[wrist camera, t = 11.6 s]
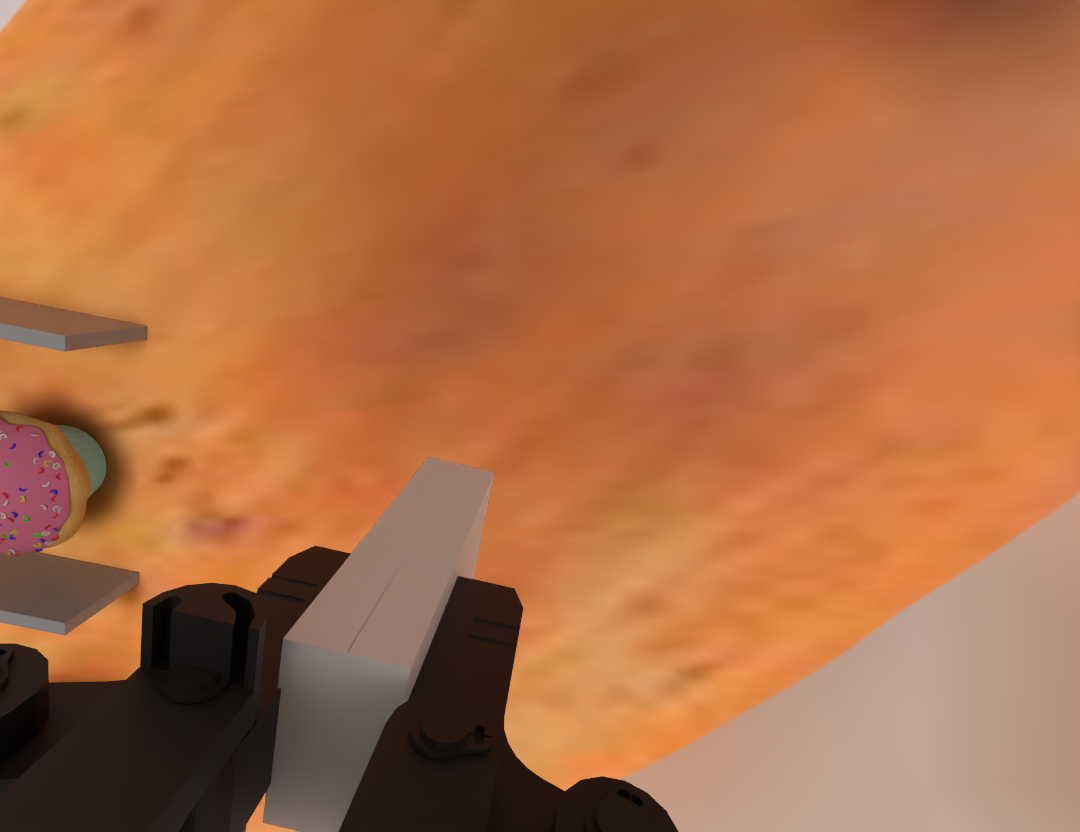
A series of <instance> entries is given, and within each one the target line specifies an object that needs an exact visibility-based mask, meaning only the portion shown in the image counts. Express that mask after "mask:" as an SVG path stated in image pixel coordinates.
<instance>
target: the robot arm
mask: <svg viewBox="0 0 1080 832" xmlns="http://www.w3.org/2000/svg"><path fill="white" fill-rule="evenodd" d="M494 473H495V472H492V471H488V470H483V469H479V468H474V467H470V466H465V465H461V464H456V463H452V462H447V461H443V460H438V459H434V458H429V457H428V459H427V460H426V461H425V462H424V463H423V465H422V466H421V467H420V468H419V470H418V471H417V472H416V473H415V475H414V476H413V477H412V478H411V480H410V481H409V482H408V483H407V485H406V486H405V487H404V488H403V490H402V491H401V492H400V493H399V495H398V496H397V497H396V498H395V500H394V501H393V502H392V503H391V505H390V506H389V507H388V508H387V510H386V511H385V512H384V513H383V515H382V516H381V517H380V518H379V520H378V521H377V522H376V523H375V525H374V526H373V527H372V528H371V530H370V531H369V532H368V533H367V535H366V536H365V537H364V538H363V540H362V541H361V542H360V543H359V545H358V546H357V547H356V548H355V550H354V551H353V552H352V553H351V554H350V553H345V552H341V551H336V550H332V549H327V548H323V547H319V546H314V547H311V548H309V549H307V550H305V551H303V552H300V553H298V554H296V555H294V556H292V557H289V558H288V559H287V560H286V561H285V562H284V563H283V564H282V565H281V566H280V567H279V568H278V569H277V570H276V571H275V572H274V573H273V574H272V577H271V578H268V579H267V580H266V581H265V582H264V583H263V584H262V585H261V586H260V587H259V588H258V591H257V593H255V592H251V591H249V590H246V589H244V588H241V587H238V586H236V585H227V584H218V583H206V584H195V585H186V586H183V587H180V588H176V589H173V590H169V591H166V592H163V593H161V594H159V595H157V596H156V597H154V598H152V599H150V600H148V601H147V602H145V603H143V610H142V637H141V664H140V668H138V669H137V670H136V671H135V672H134V673H133V674H132V675H131V676H130V677H129V678H127V679H126V680H120V681H109V682H62V683H48V660H47V659H46V658H45V657H44V656H43V655H42V654H41V653H40V652H39V651H38V650H37V649H33V648H30V647H26V646H22V645H18V644H0V832H245V831H246V824H247V822H248V820H249V819H250V817H251V816H252V814H253V812H254V811H255V809H256V807H257V806H258V804H259V802H260V801H261V799H262V797H263V796H264V794H265V792H266V799H265V808H264V817H263V823H267V824H271V825H275V826H279V827H284V828H288V829H292V830H297V831H301V832H678V830H677V828H676V827H675V825H674V823H673V822H672V820H671V818H670V816H669V815H668V813H667V811H666V810H665V809H664V808H663V807H661V806H660V805H659V804H658V803H657V802H656V801H655V800H654V799H653V798H652V797H651V796H650V795H649V794H648V793H646V792H645V791H643V790H641V789H639V788H637V787H635V786H633V785H632V784H630V783H628V782H626V781H623V780H618V779H613V778H607V777H596V778H590V779H584V780H580V781H579V782H578V783H576V784H575V785H573V786H572V787H570V788H569V789H568V790H566V791H563V790H562V789H560V788H558V787H556V786H554V785H553V784H551V783H549V782H547V781H545V780H544V779H542V778H541V777H539V776H538V775H536V774H535V773H533V772H532V771H530V770H529V769H528V768H527V767H526V766H525V765H524V764H523V763H522V762H521V761H520V760H519V759H518V758H517V757H516V755H515V754H514V752H513V750H512V749H511V747H510V745H509V744H508V741H507V738H506V735H505V731H504V715H505V709H506V703H507V697H508V692H509V686H510V680H511V675H512V669H513V663H514V658H515V652H516V646H517V641H518V635H519V629H520V623H521V618H522V612H523V607H522V604H521V602H520V600H519V598H518V595H517V593H516V591H515V589H514V588H510V587H505V586H501V585H497V584H492V583H488V582H483V581H479V580H474V579H473V577H474V572H475V567H476V562H477V557H478V552H479V547H480V542H481V537H482V532H483V527H484V522H485V517H486V513H487V508H488V503H489V498H490V493H491V488H492V483H493V478H494Z"/></svg>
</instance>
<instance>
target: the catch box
mask: <svg viewBox="0 0 1080 832" xmlns="http://www.w3.org/2000/svg"><path fill="white" fill-rule="evenodd" d="M146 338H147V326H143V325H137V324H132V323H127V322H122V321H117V320H112V319H107V318H102V317H97V316H92V315H87V314H82V313H77V312H72V311H67V310H62V309H57V308H52V307H47V306H41V305H36V304H31V303H26V302H21V301H16V300H11V299H6V298H1V297H0V339H5V340H10V341H15V342H20V343H26V344H31V345H36V346H41V347H46V348H51V349H56V350H61V351H71V350H77V349H84V348H91V347H98V346H105V345H111V344H118V343H125V342H132V341H138V340H145V339H146ZM138 583H139V573H137V572H132V571H127V570H122V569H117V568H112V567H108V566H103V565H98V564H93V563H88V562H83V561H78V560H73V559H68V558H63V557H58V556H53V555H48V554H43V553H38V552H29V553H24V554H21V555H19V556H14V555H6V554H1V553H0V622H1V623H6V624H11V625H16V626H21V627H26V628H31V629H36V630H41V631H46V632H51V633H56V634H61V635H66V634H68V633H69V632H70V631H72V630H73V629H75V628H76V627H78V626H79V625H80V624H82V623H83V622H85V621H86V620H87V619H89V618H90V617H92V616H93V615H94V614H96V613H97V612H99V611H100V610H102V609H103V608H104V607H106V606H107V605H109V604H110V603H111V602H113V601H114V600H116V599H117V598H118V597H120V596H121V595H123V594H124V593H126V592H127V591H128V590H130V589H131V588H133V587H134V586H135V585H137V584H138Z"/></svg>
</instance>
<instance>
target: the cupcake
mask: <svg viewBox="0 0 1080 832" xmlns="http://www.w3.org/2000/svg"><path fill="white" fill-rule="evenodd" d="M106 470H107V465H106V459H105V456H104V453H103V451H102V449H101V447H100V446H99V444H98V443H97V442H96V441H95V439H94V438H93V437H91V436H90V435H89V434H88V433H86V432H85V431H83V430H81V429H79V428H76V427H72V426H67V425H53V424H51V423H48V422H45V421H41V420H38V419H35V418H33V417H30V416H26V415H23V414H19V413H15V412H9V411H0V553H1V554H6V555H14V556H19V555H21V554H24V553H29V552H34V551H37V552H39V551H42V550H43V549H44V548H49V547H53V546H56V545H59V544H61V543H63V542H65V541H67V540H68V539H70V538H71V537H72V536H73V535H74V534H75V533H76V532H77V531H78V529H79V527H80V525H81V522H82V520H83V518H84V516H85V512H86V502H87V499H88V498H89V497H90V496H91V495H92V494H93V493H94V492H95V491H96V490H97V489H98V488H99V487H100V486H101V484H102V483H103V481H104V479H105V476H106Z"/></svg>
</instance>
